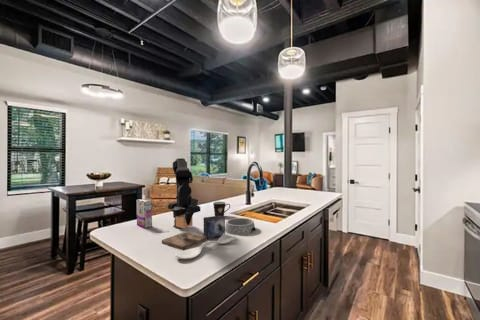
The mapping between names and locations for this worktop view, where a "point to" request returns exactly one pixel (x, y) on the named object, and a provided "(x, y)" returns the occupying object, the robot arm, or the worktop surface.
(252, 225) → the dog bowl
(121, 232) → the worktop surface
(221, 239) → the spoon
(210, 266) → the worktop surface
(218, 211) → the coffee mug
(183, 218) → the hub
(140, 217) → the candy bar box
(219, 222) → the small box
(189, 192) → the robot arm
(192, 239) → the base plate
